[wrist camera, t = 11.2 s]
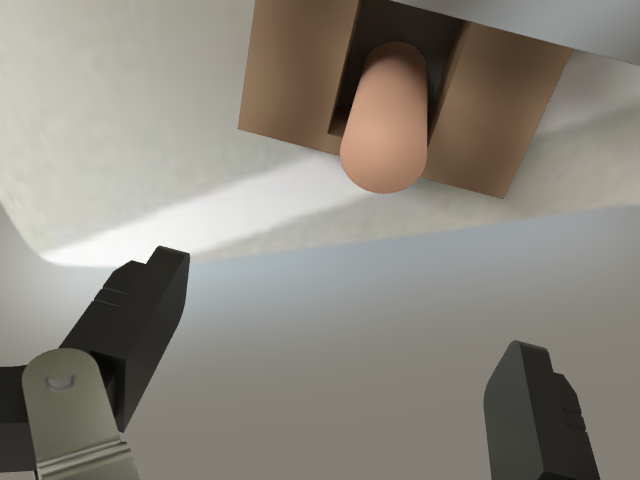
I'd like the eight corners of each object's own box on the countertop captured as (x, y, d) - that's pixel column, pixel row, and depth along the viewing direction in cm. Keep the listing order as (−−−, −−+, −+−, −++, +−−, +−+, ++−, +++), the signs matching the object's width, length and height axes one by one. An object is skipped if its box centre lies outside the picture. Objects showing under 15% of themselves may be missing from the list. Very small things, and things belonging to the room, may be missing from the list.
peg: (372, 34, 30) (351, 104, 22) (435, 50, 30) (438, 127, 22) (356, 95, 32) (331, 181, 24) (416, 111, 32) (412, 202, 24)
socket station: (256, 100, 33) (184, 208, 23) (303, -202, 25) (224, -232, 15) (496, 164, 33) (524, 298, 23) (619, -120, 25) (742, -97, 15)
